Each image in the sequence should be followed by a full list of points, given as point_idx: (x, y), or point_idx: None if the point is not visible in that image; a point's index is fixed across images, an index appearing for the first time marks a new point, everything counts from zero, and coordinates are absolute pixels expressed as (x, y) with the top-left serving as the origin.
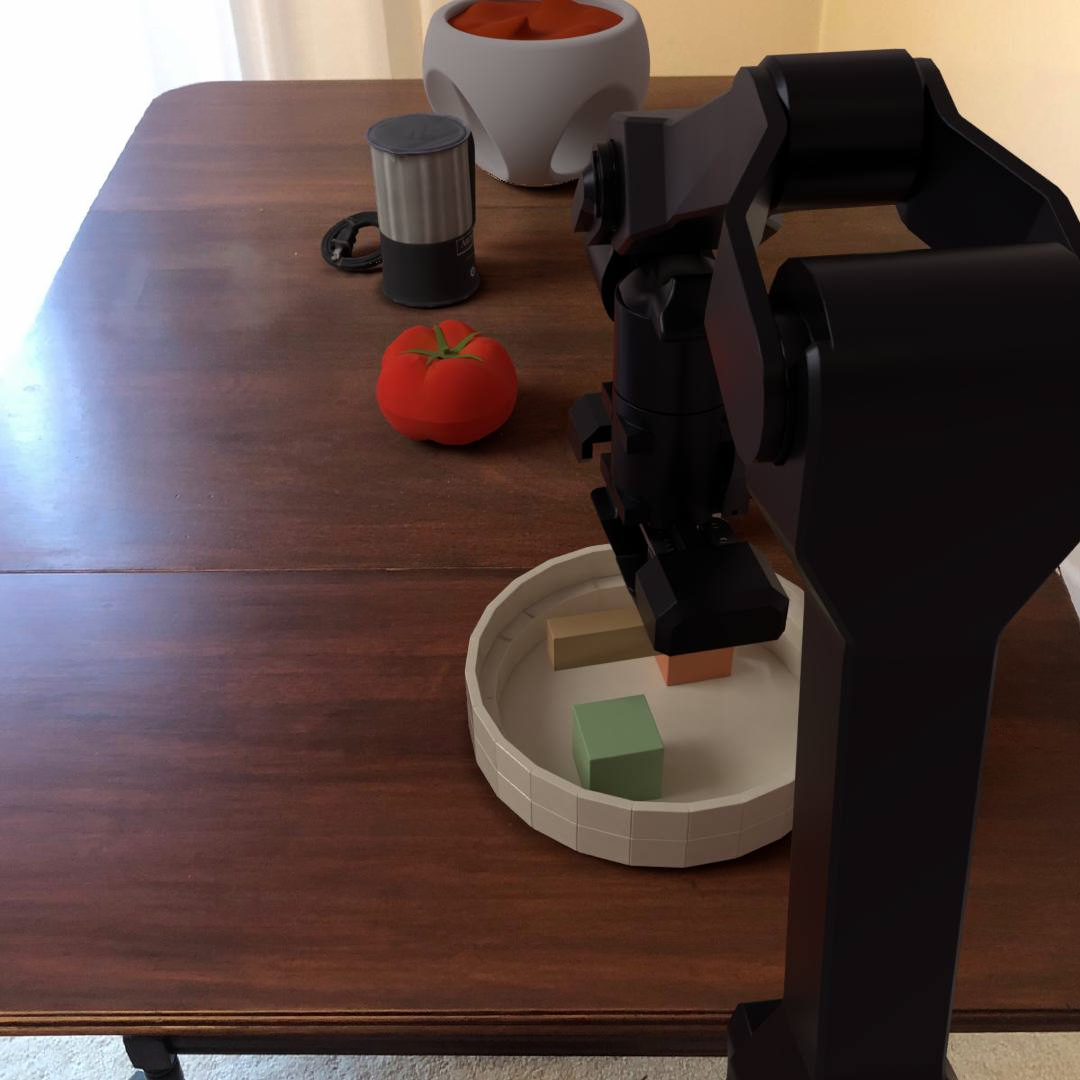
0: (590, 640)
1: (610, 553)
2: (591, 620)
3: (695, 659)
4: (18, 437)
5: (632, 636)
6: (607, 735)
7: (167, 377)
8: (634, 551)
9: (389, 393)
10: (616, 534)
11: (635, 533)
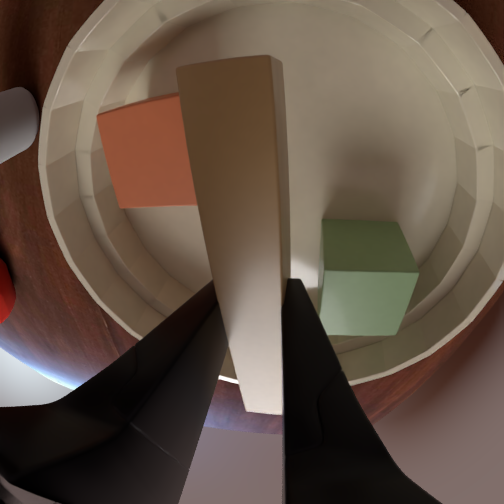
0: None
1: (68, 239)
2: (256, 390)
3: None
4: None
5: None
6: (374, 318)
7: (32, 351)
8: (179, 453)
9: (1, 322)
10: (175, 498)
11: (162, 490)
